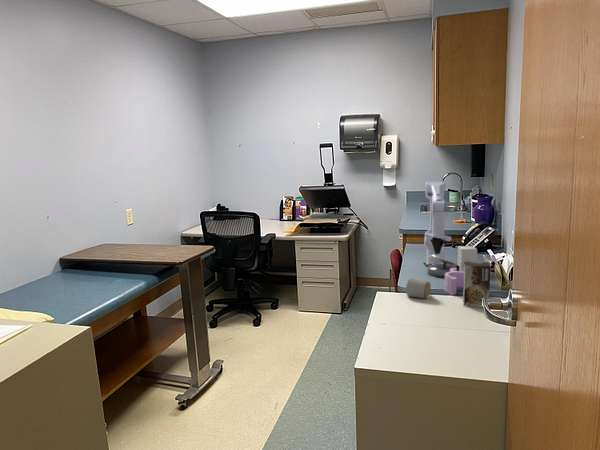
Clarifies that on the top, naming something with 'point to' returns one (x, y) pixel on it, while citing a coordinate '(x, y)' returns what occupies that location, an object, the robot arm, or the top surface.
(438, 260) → the cooker lid
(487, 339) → the top surface
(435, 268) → the cooker pot
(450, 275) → the pink rounded block
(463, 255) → the supplement box
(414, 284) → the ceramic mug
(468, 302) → the coffee box
